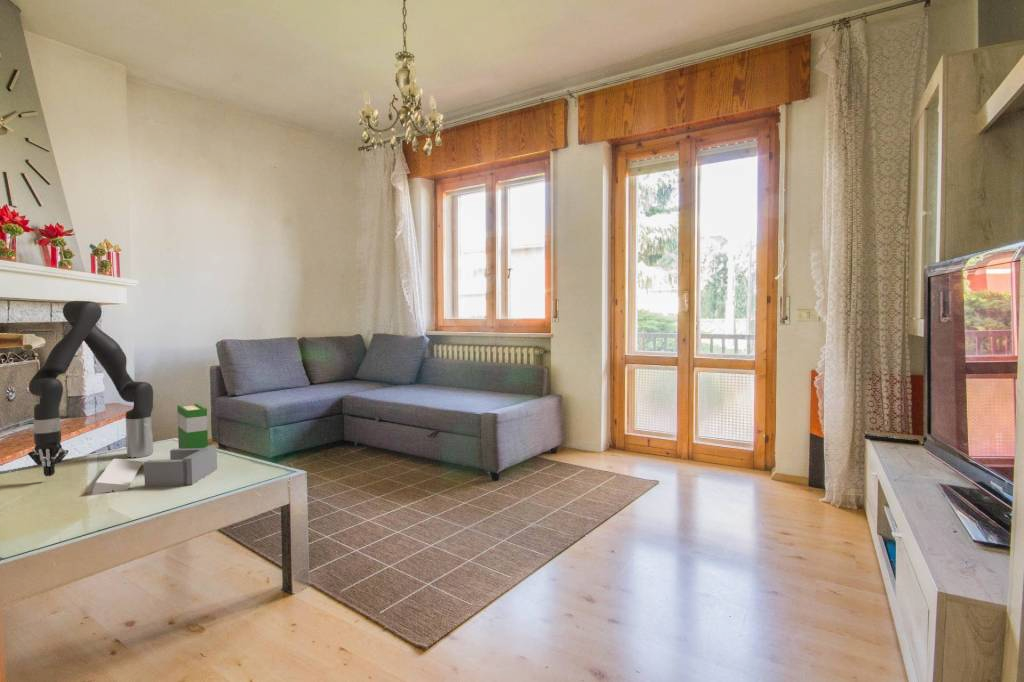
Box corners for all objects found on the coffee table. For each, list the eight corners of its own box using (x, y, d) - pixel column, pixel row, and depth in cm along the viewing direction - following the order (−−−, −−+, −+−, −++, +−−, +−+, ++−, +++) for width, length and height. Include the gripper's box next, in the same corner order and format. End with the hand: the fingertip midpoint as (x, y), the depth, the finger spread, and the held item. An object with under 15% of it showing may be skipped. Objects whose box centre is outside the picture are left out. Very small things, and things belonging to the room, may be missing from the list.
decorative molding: (139, 472, 211) (110, 470, 206) (142, 461, 211) (113, 458, 206) (125, 498, 181) (91, 495, 176) (129, 485, 182) (95, 482, 177)
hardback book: (179, 459, 219) (177, 405, 218) (198, 456, 224) (197, 403, 223) (187, 468, 206) (186, 411, 205) (208, 465, 212) (206, 408, 210)
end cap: (174, 470, 204) (173, 446, 203) (217, 469, 205) (216, 445, 205) (144, 486, 185) (143, 459, 184) (192, 485, 186) (191, 458, 186)
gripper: (74, 427, 194) (75, 472, 195) (36, 428, 193) (38, 473, 193) (58, 432, 186) (60, 478, 187) (19, 432, 185) (21, 479, 186)
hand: (49, 475), depth 190 cm, fingers closed
